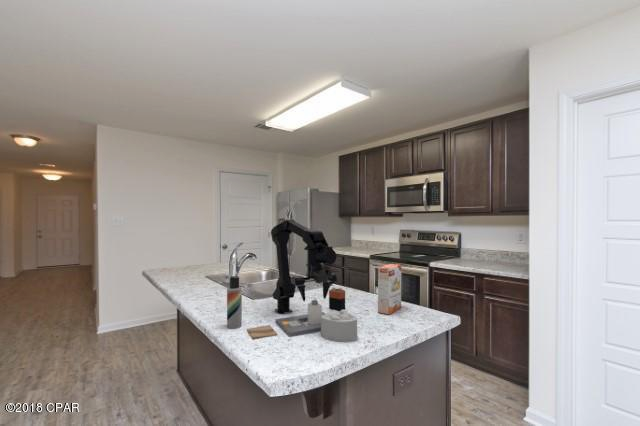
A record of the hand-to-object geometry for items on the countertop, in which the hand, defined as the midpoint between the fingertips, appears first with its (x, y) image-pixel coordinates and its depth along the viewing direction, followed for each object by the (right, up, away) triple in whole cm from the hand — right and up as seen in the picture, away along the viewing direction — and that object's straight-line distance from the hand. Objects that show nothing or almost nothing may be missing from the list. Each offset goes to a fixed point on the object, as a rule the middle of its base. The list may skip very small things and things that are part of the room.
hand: (314, 299), depth 126 cm
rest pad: (-20, -10, -10) cm, 24 cm away
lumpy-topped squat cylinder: (+10, -10, -13) cm, 19 cm away
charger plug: (0, -10, 0) cm, 10 cm away
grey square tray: (-3, -10, -2) cm, 10 cm away
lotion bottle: (-32, -10, -2) cm, 34 cm away
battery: (+10, -10, +20) cm, 25 cm away
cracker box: (+35, -10, +17) cm, 40 cm away
